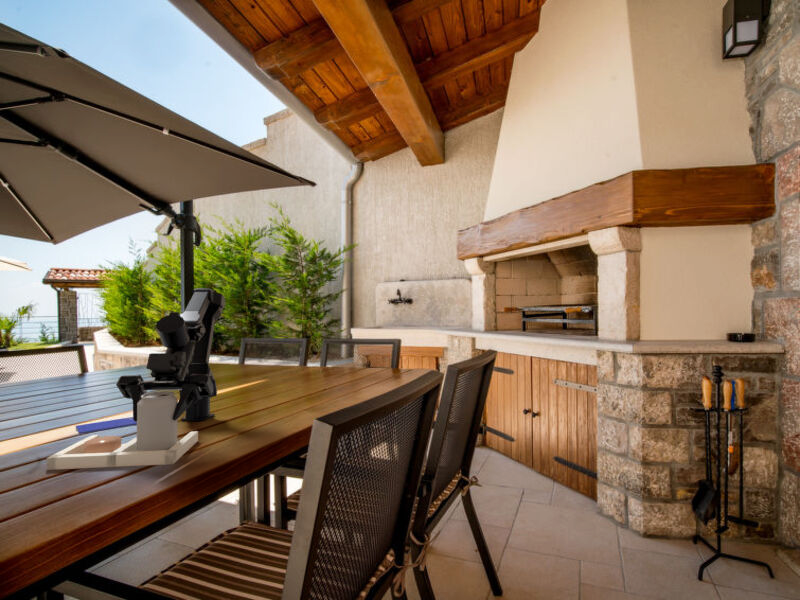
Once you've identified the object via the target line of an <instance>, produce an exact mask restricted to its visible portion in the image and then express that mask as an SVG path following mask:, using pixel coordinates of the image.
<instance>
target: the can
mask: <svg viewBox="0 0 800 600" xmlns="http://www.w3.org/2000/svg"><path fill="white" fill-rule="evenodd" d="M141 398H142V399H141V400H140V401H139V402H138V403H137V426H136V437H137V446H136V448H137V450H139V451H160V450H169V449H170V448H171V447H173V446H174V445H175V444H176V443H177V442H178V419H177V420H174V419H173V415H174V411H175V409H176V406H177V404H178V401H179V399H178V398H177V397H176V396H175V392H174V391H171V390H159V391H151V392H146V394H143V395H142V396H141Z"/></svg>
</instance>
